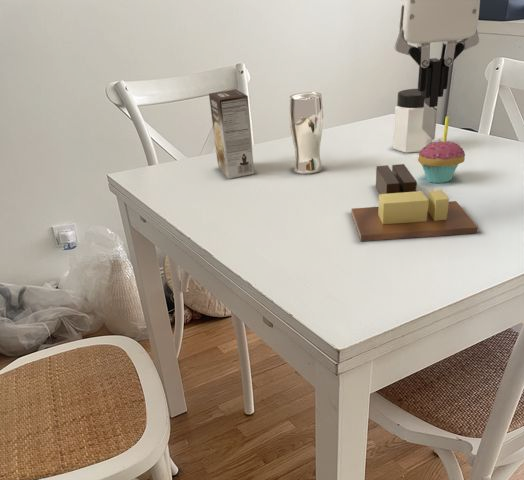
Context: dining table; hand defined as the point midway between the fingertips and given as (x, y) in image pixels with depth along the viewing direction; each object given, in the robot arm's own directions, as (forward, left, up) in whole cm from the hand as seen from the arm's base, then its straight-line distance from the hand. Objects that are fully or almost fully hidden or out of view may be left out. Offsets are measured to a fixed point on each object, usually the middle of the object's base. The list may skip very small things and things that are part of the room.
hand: (431, 95), depth 80 cm
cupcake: (-8, -19, -19) cm, 28 cm away
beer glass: (+17, -32, -19) cm, 41 cm away
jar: (-8, -43, -19) cm, 47 cm away
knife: (0, 0, -6) cm, 6 cm away
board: (+2, +2, -19) cm, 19 cm away
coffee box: (+33, -35, -19) cm, 52 cm away
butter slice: (-2, +2, -18) cm, 18 cm away
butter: (+4, +2, -18) cm, 18 cm away
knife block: (+2, -12, -19) cm, 22 cm away
